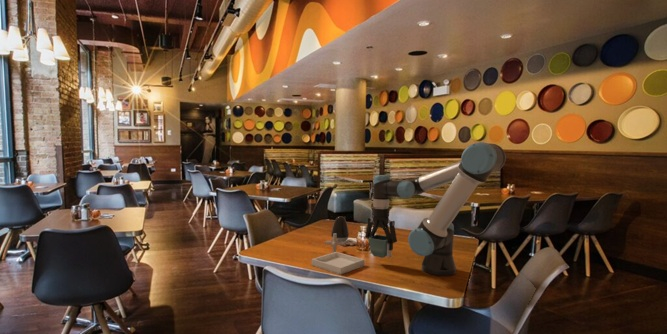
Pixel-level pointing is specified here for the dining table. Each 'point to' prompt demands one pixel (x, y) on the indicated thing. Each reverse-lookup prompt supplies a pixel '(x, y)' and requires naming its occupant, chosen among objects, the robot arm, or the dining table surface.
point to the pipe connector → (334, 242)
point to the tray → (338, 262)
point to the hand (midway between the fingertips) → (380, 254)
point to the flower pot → (378, 245)
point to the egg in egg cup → (340, 229)
